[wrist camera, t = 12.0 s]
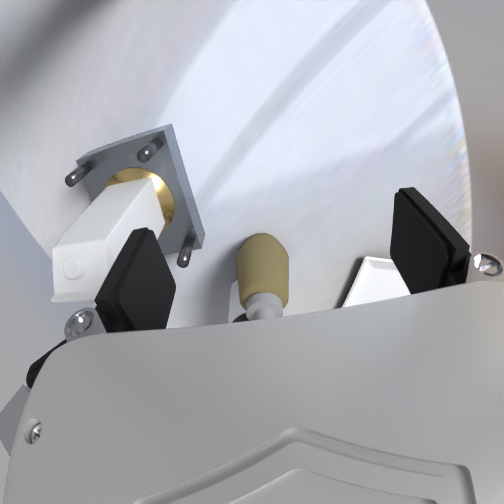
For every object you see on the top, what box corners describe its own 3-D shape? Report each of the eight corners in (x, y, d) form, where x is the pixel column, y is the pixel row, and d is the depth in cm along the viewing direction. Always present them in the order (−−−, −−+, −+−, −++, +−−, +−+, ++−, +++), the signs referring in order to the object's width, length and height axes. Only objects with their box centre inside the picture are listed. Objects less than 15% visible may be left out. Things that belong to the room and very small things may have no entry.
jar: (255, 311, 57) (255, 363, 47) (222, 290, 53) (216, 343, 44) (289, 286, 53) (296, 339, 43) (256, 261, 50) (257, 315, 40)
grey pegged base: (88, 151, 38) (57, 174, 30) (171, 123, 36) (151, 140, 29) (129, 247, 48) (110, 282, 41) (205, 233, 46) (196, 270, 39)
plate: (401, 324, 61) (404, 331, 59) (329, 322, 59) (331, 329, 58) (440, 261, 50) (444, 267, 48) (362, 249, 49) (365, 257, 47)
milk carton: (166, 222, 40) (121, 327, 25) (122, 228, 41) (67, 326, 25) (152, 176, 36) (88, 267, 21) (107, 185, 37) (32, 273, 21)
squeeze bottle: (244, 271, 51) (241, 360, 36) (230, 232, 46) (221, 320, 32) (290, 262, 50) (304, 350, 35) (281, 221, 45) (294, 307, 30)
